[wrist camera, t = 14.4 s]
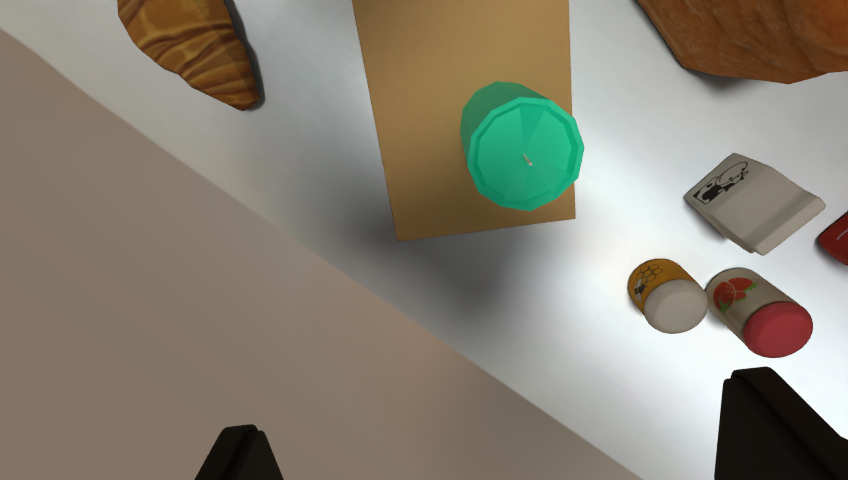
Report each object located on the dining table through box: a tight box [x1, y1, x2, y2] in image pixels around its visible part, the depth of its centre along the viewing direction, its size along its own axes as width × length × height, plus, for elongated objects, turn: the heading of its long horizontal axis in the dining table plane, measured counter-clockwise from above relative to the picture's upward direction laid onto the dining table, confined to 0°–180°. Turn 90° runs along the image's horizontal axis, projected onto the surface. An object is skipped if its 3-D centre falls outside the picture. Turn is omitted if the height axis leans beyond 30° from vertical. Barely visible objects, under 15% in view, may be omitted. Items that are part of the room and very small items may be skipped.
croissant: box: [117, 0, 260, 111], centre depth 30 cm, size 14×7×5 cm, turn 33°
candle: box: [460, 81, 584, 211], centre depth 28 cm, size 6×6×12 cm
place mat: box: [352, 0, 575, 241], centre depth 33 cm, size 20×14×1 cm
